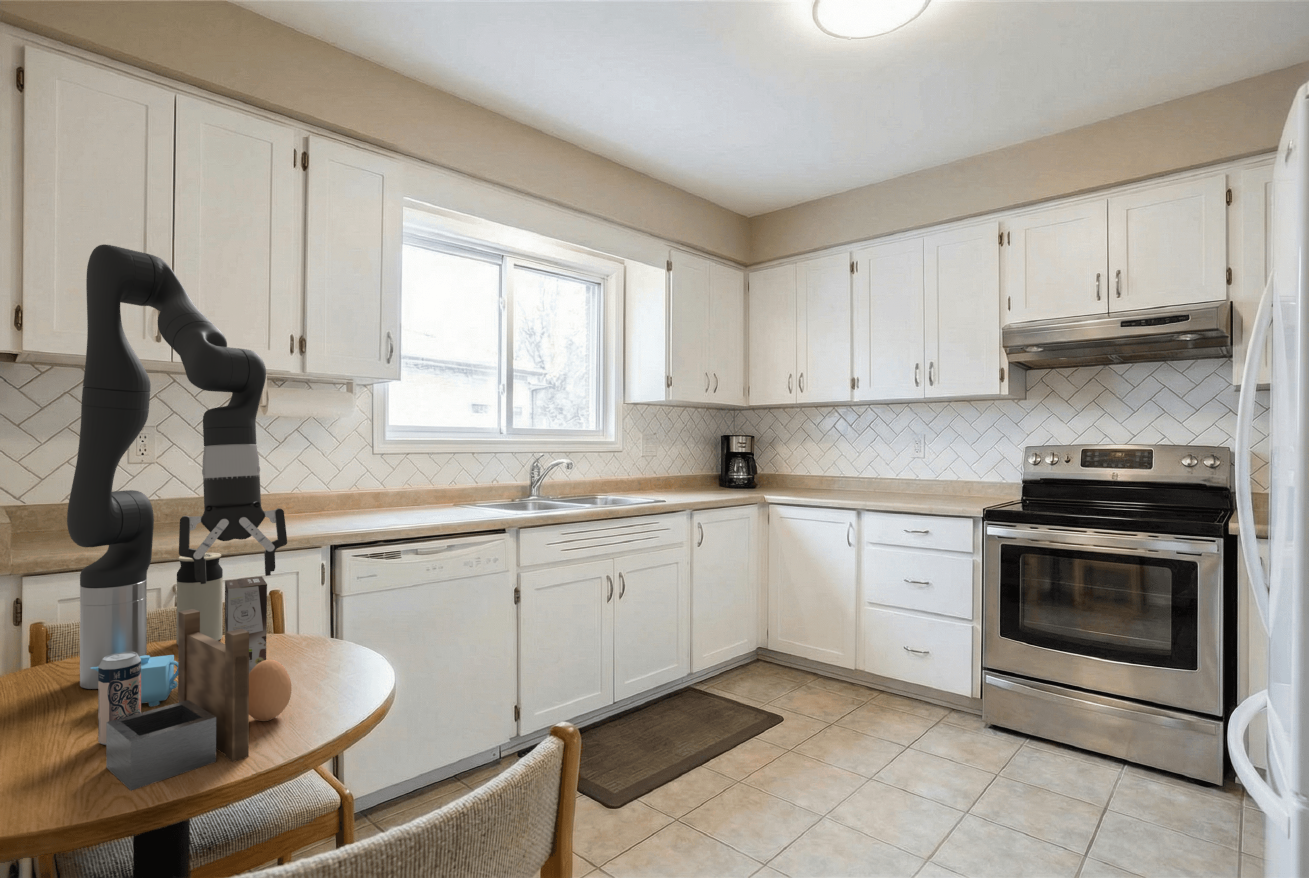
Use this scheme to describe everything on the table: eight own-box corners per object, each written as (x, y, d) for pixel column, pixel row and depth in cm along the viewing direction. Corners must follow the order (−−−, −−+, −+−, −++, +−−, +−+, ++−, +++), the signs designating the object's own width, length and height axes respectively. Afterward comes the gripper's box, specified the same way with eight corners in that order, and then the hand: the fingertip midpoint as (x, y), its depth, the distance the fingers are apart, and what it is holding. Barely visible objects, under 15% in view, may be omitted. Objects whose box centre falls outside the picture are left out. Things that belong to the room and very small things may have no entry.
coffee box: (267, 671, 126) (268, 584, 125) (226, 678, 122) (226, 588, 122) (263, 657, 133) (263, 575, 133) (224, 663, 130) (224, 578, 129)
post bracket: (106, 767, 90) (106, 721, 90) (188, 741, 97) (188, 699, 97) (130, 790, 84) (131, 742, 84) (216, 761, 92) (216, 716, 91)
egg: (272, 707, 109) (273, 650, 109) (301, 715, 107) (301, 657, 106) (232, 723, 103) (232, 663, 103) (260, 732, 101) (260, 670, 100)
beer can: (117, 749, 95) (117, 663, 95) (89, 745, 96) (89, 660, 96) (149, 734, 99) (149, 652, 99) (122, 731, 100) (122, 649, 100)
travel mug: (187, 650, 137) (187, 560, 137) (169, 643, 142) (169, 556, 141) (229, 640, 144) (229, 554, 144) (211, 633, 148) (211, 550, 148)
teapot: (83, 716, 105) (83, 668, 105) (95, 702, 111) (96, 656, 111) (177, 704, 111) (177, 657, 111) (184, 691, 116) (184, 647, 116)
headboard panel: (178, 724, 103) (178, 611, 103) (193, 720, 104) (193, 608, 104) (232, 761, 91) (233, 635, 91) (248, 756, 93) (249, 631, 93)
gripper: (282, 472, 114) (286, 570, 113) (177, 477, 106) (181, 583, 106) (285, 471, 107) (290, 575, 107) (174, 477, 100) (178, 589, 99)
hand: (236, 579), depth 106 cm, fingers open, 8 cm apart
